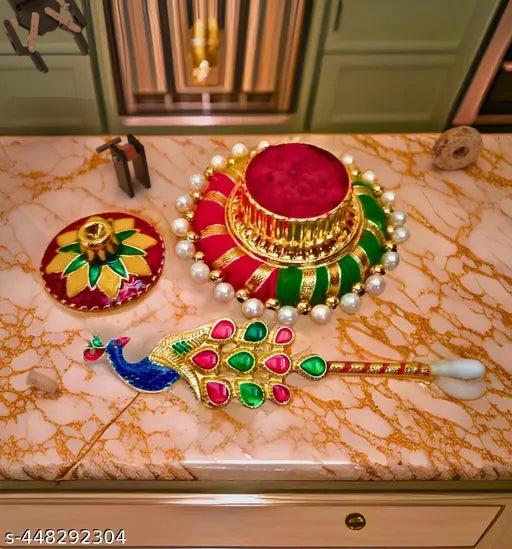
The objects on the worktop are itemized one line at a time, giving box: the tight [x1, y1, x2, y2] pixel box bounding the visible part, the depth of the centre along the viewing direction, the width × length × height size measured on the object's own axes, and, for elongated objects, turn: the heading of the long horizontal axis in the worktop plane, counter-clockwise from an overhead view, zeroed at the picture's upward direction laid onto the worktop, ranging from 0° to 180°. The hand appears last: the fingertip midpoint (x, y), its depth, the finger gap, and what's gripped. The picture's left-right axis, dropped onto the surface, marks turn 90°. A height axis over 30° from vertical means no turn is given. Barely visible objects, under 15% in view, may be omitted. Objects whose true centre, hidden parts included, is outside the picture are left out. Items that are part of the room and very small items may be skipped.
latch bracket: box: [109, 133, 152, 200], centre depth 114 cm, size 11×8×13 cm
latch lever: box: [95, 136, 138, 163], centre depth 113 cm, size 11×6×2 cm, turn 41°
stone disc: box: [430, 125, 484, 171], centre depth 122 cm, size 10×4×10 cm, turn 98°
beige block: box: [25, 369, 59, 394], centre depth 93 cm, size 3×5×5 cm, turn 70°
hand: (66, 63), depth 109 cm, fingers open, 8 cm apart
